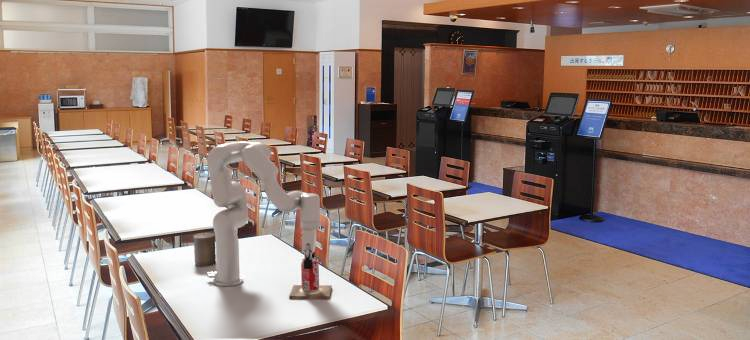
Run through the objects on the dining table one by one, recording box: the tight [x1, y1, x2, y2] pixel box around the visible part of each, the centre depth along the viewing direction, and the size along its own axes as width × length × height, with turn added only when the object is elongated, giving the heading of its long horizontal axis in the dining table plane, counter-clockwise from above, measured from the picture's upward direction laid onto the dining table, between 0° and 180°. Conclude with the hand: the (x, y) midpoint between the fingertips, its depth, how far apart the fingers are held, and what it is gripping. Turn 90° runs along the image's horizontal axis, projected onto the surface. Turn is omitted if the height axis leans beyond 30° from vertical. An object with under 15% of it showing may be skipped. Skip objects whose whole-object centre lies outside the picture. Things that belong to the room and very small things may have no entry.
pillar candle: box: [193, 232, 217, 267], centre depth 302 cm, size 10×10×15 cm
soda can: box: [300, 257, 320, 293], centre depth 262 cm, size 7×7×13 cm
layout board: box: [288, 284, 333, 300], centre depth 264 cm, size 16×13×1 cm
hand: (309, 265), depth 262 cm, fingers open, 9 cm apart
